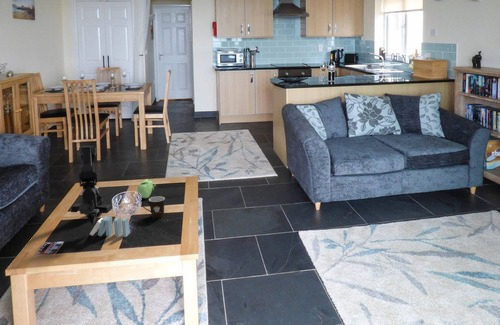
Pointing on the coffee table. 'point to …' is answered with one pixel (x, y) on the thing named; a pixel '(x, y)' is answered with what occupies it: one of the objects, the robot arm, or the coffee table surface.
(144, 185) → the green rounded lump
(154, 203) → the coffee mug
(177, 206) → the coffee table surface
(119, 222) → the domino
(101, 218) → the domino
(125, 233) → the domino
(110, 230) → the domino
